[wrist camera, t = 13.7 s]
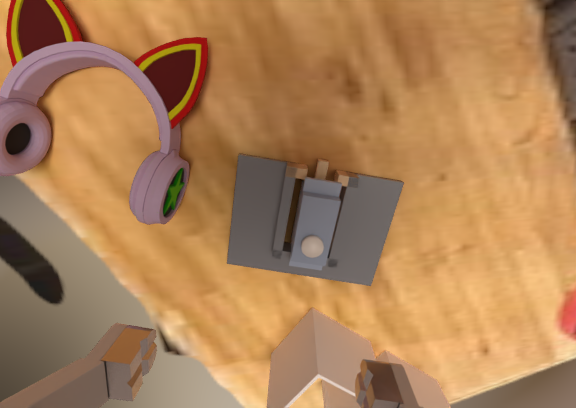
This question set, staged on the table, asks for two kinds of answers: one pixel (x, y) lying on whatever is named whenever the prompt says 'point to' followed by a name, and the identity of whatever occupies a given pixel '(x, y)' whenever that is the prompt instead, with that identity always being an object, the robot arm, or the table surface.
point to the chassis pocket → (275, 211)
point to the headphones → (77, 54)
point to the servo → (315, 219)
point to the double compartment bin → (334, 366)
